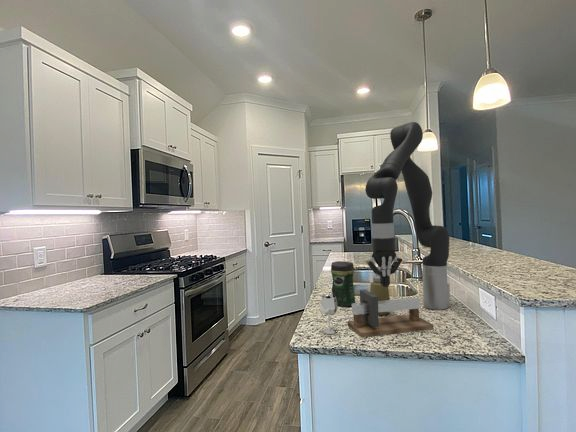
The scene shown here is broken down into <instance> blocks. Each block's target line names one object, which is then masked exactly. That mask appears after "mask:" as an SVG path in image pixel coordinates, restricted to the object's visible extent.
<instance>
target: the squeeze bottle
mask: <svg viewBox="0 0 576 432" xmlns="http://www.w3.org/2000/svg"><path fill="white" fill-rule="evenodd" d="M376 267H377V268H378V266H376ZM378 270H379V269H378ZM369 290H370V291H369V292H370V293H372V294H374V295H376V296H378V301H384V300H391V299H390V298H391V297H390V289H389V287H383V286H382V285H381V283H380V275H378V274H375V276H374V275H373V276H372V282H370V288H369ZM388 314H389V312H379V313H378V316H385V315H388Z"/></svg>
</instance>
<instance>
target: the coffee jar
mask: <svg viewBox="0 0 576 432" xmlns="http://www.w3.org/2000/svg"><path fill="white" fill-rule="evenodd" d="M330 273H331V276H332V288H331V290H332V293H331V295H334V296H336V300H337V305H338V306H340V307H352V304H353V303H356V295H355V287H354V274H355V267H354V263H353V262H352V261H343V260H341V261H340V260H339V261H338V260H337V261H333V262H331V265H330Z"/></svg>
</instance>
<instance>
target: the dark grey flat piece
mask: <svg viewBox="0 0 576 432" xmlns="http://www.w3.org/2000/svg"><path fill="white" fill-rule="evenodd" d="M359 301H360V302H359V303H363V302H368V303H369V314H362V318H363V320H364V321H365V322H367V323H368V324H369V325H371V326H372V327H379V319H378V318H379V315H378V296H376V295H374V294H372V293H370V291H368V290H366V289H359Z"/></svg>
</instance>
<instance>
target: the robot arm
mask: <svg viewBox="0 0 576 432" xmlns="http://www.w3.org/2000/svg"><path fill="white" fill-rule="evenodd" d="M389 136H390V142H391V145H392V148H393V150H392V151H391V152H390V153H389V154H388V155H387V156H386V158H385V159H384V160H383V162H382V164H381V166H380V168H379V169H378V170H377V171H375V172H374V174H373V175H371V176H370V178H368V180H367V181H366V184H365V189H364V190H365V194H366V196H367V197H368V198H370V199H372V200H377V199H378V200H379V199H380V200H381V199H383V202H382V203H381V204H379V205H375V206H373V207H372V208H371V223H372V224H371V244H372V246H371V247H372V254H371V257H370V259H367V260H366V262H365V264H366V265H367V266H368V267H369V268H370V269H371V270H372V272H373V273H374V274H375V275H376V274H378V275H380V283H381V285H382V286H383V287H388V288H389V286H390V285H391V280H390V279H391V275H392V274H393V275H394V274H395V273H396V272H397V271H398V269H399V268H400V266H401V264H402V262H403V258H400V257H398V255H397V253H396V237H395V236H396V233H395V226H394V208H395V207H394V206H395V202H396V198H397V194H398V190H399V189H398V183H397V180H398V178H399V176H400V174H401V173H402V178H403V182H404V187H405V190H406V194H407V196H408V200H409V203H410V207H411V212H412V215H413V220H414V227H415V233H416V236H417V237H416V238H417V241H418V243H419V244H420V245H421V246H422V247H424V248H429V250H430V251H429V254H428V255H426V256H424V257H422V260H421V261H422V262H421V264H422V265H421V267H422V294H423V295H422V299H423V300H422V302H423V305H422V306H423V307H424V308H425V309H426V308H427V309H428V310H429V309H430V310H440V311H441V310H446V309H448V308H451V290H450V289H451V285H450V283H448V261H449V260H448V259H449V256H450V234H449V231H448V229H447V227H445V226H443V225H433V224H432V221H431V217H430V211H429V210H430V206H431V203H432V198H433V190H432V184H431V182H430V178H429V176H428V174H427V173H426V172H425V171H424V170H423V169H422V168H421V167H420V166H419V165H417V164H416V163H415V161H414V160H413V159H412V158H411V156H412V154H413V153H414V152H415V151H416V149H418V147H419V146H420V144H421V143H422V140H423V137H424V131H423V129H422V126H421V125H420V124H419V123H418V122H417V121H411V122H407V123H404V124H402V125H399V126H395V127H393V128H392V129H391V130H390V135H389ZM375 264H376V265H377V266H376V265H375ZM377 267H378V268H377ZM378 269H379V270H378Z"/></svg>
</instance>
